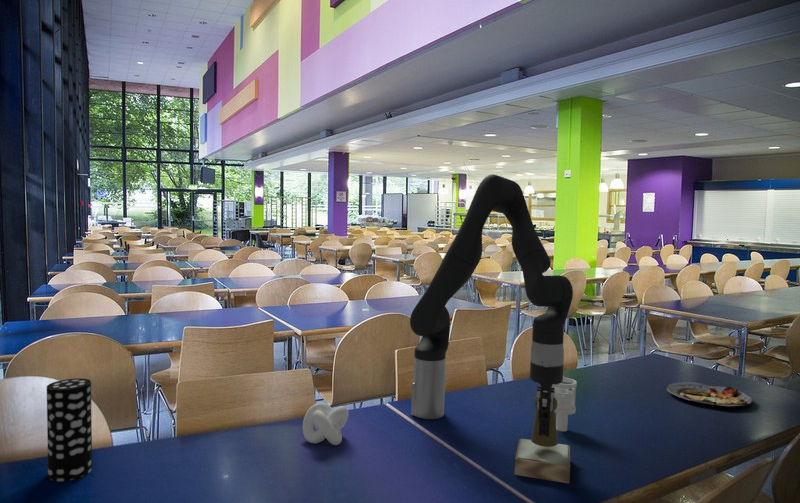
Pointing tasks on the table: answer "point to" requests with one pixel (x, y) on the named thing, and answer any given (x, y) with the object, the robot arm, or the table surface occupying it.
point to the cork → (552, 437)
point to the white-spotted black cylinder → (69, 429)
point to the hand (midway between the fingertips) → (544, 432)
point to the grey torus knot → (324, 423)
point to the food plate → (710, 394)
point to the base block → (543, 461)
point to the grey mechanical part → (564, 402)
